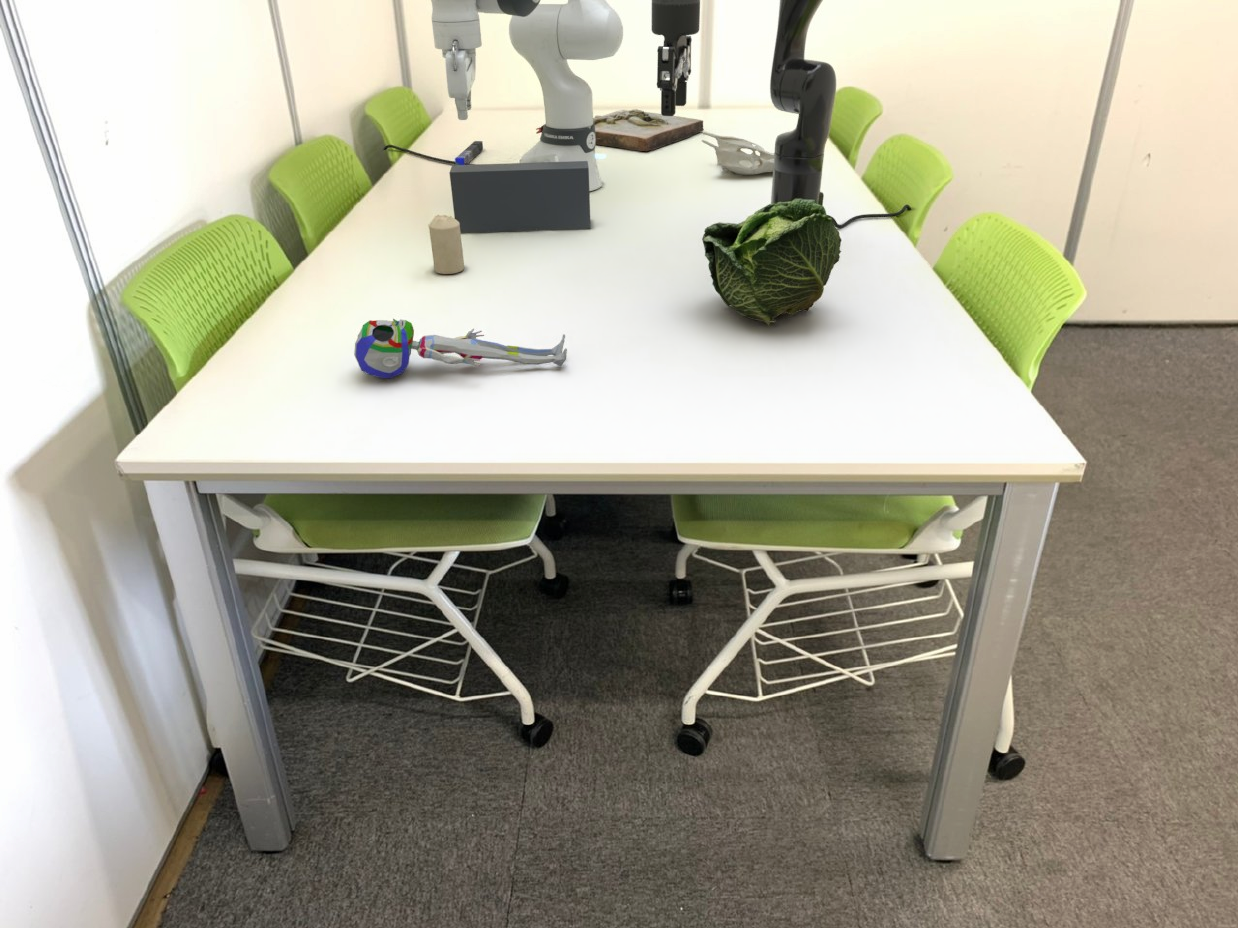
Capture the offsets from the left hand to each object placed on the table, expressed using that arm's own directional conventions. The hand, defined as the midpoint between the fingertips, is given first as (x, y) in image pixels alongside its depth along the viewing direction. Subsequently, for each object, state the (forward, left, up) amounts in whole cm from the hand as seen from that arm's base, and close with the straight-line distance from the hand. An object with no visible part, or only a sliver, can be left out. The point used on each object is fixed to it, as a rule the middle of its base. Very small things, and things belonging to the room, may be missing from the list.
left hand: (465, 114), depth 176 cm
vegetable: (+71, -13, -23) cm, 76 cm away
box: (+8, +6, -23) cm, 25 cm away
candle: (+11, -22, -23) cm, 34 cm away
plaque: (-13, +90, -23) cm, 94 cm away
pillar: (-39, +47, -23) cm, 65 cm away
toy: (+40, -54, -23) cm, 71 cm away
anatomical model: (+33, +68, -23) cm, 79 cm away
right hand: (+49, -6, +6) cm, 50 cm away
